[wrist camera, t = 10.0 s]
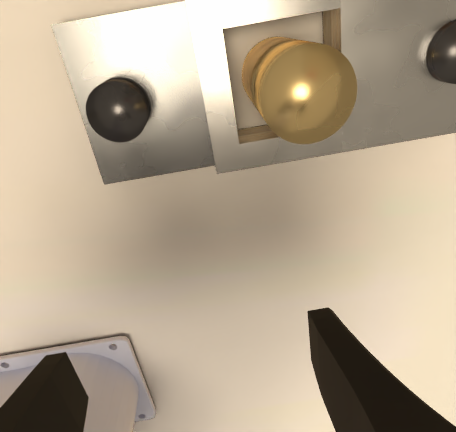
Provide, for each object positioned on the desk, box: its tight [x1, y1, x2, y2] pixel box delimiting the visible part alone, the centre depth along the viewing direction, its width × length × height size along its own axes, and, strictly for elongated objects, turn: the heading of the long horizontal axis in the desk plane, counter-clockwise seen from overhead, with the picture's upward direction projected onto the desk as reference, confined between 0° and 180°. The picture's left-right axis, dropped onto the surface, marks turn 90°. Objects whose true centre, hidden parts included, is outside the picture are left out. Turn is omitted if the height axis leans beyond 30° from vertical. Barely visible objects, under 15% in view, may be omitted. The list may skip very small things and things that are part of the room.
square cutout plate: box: [51, 0, 456, 184], centre depth 16 cm, size 18×7×3 cm, turn 99°
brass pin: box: [242, 37, 357, 144], centre depth 15 cm, size 3×3×6 cm
